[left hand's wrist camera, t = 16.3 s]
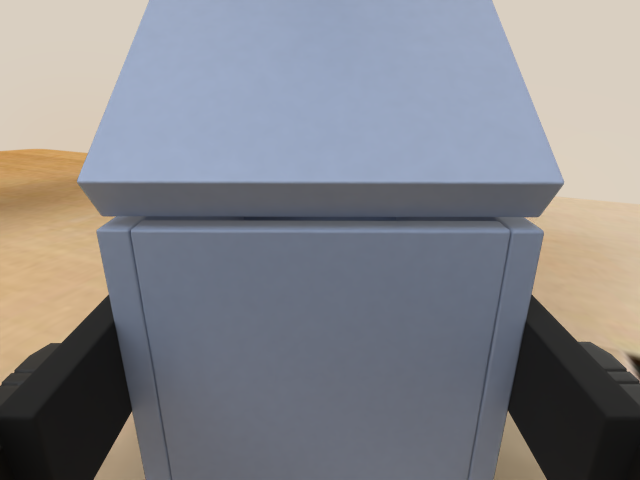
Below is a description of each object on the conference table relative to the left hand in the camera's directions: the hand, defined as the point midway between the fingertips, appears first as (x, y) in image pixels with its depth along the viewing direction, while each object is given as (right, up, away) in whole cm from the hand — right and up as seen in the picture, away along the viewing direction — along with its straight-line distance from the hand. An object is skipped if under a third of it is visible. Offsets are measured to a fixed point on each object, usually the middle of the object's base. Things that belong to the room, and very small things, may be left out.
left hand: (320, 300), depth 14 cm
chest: (0, -4, +6) cm, 7 cm away
